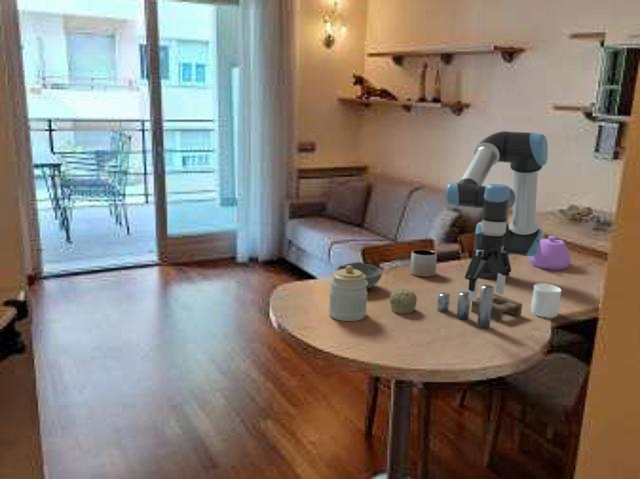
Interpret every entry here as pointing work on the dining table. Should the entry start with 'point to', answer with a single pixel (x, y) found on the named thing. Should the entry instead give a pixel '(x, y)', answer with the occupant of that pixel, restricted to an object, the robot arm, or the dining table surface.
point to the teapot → (551, 254)
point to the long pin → (485, 306)
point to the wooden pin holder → (499, 307)
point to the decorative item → (403, 301)
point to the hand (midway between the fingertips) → (486, 296)
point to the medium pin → (463, 306)
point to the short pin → (443, 302)
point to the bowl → (366, 272)
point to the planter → (423, 263)
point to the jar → (348, 295)
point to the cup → (545, 300)
